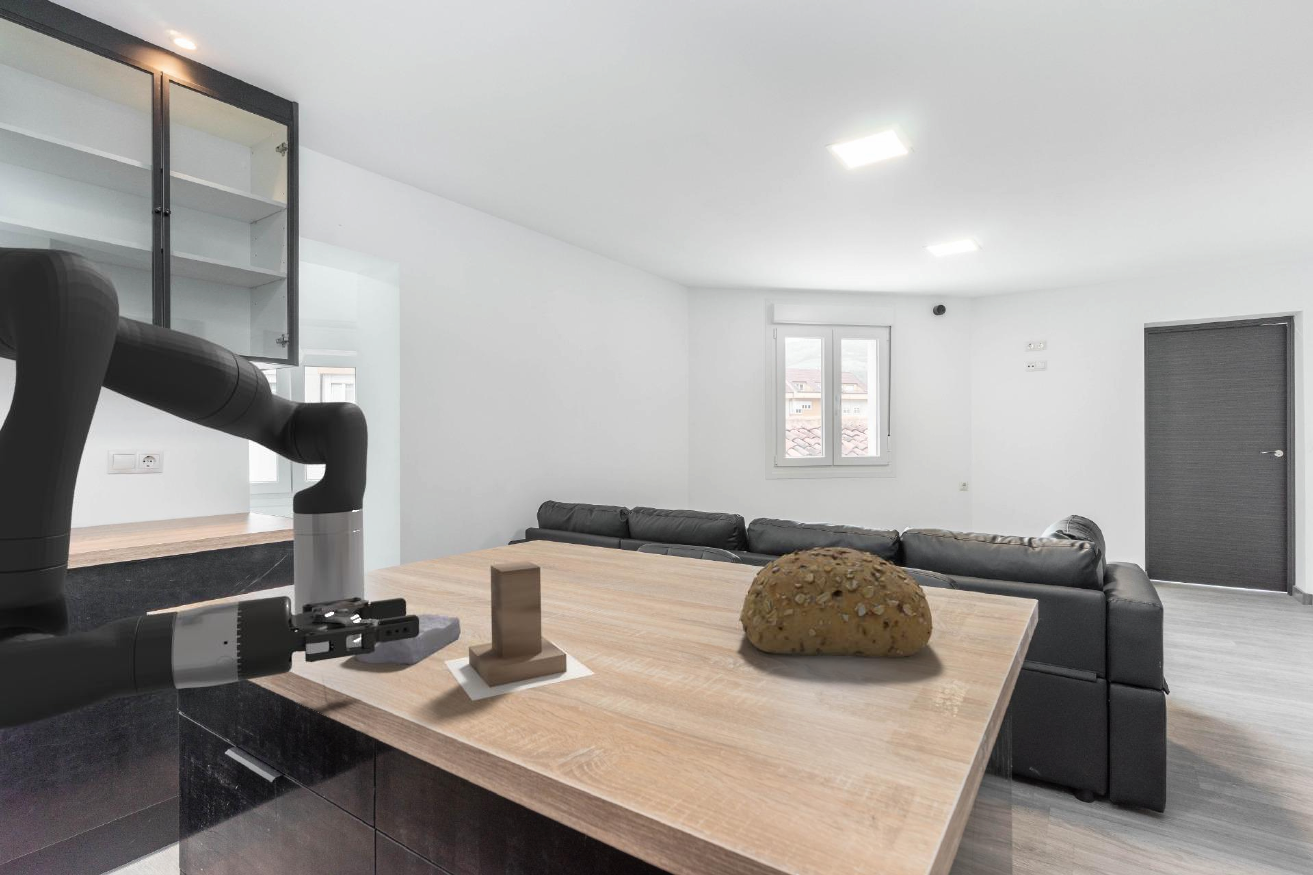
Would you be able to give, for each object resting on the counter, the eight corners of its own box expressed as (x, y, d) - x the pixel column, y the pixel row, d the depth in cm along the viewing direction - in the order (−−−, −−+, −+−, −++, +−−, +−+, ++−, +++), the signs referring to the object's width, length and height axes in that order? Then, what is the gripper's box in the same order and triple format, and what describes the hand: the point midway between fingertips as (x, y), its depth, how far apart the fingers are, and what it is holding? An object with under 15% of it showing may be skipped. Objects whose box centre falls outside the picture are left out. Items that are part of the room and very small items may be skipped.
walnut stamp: (469, 663, 78) (467, 564, 78) (540, 649, 82) (538, 556, 83) (489, 687, 70) (487, 577, 70) (566, 671, 75) (564, 567, 75)
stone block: (348, 678, 79) (420, 666, 77) (341, 640, 80) (413, 627, 78) (404, 651, 91) (468, 640, 89) (398, 617, 91) (461, 605, 89)
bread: (901, 616, 96) (899, 536, 96) (951, 667, 75) (949, 564, 75) (737, 614, 99) (735, 536, 99) (740, 663, 77) (738, 563, 77)
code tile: (443, 662, 79) (443, 661, 79) (551, 642, 86) (551, 641, 86) (472, 701, 67) (472, 700, 67) (595, 674, 74) (595, 673, 74)
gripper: (229, 619, 56) (423, 594, 64) (239, 588, 69) (401, 570, 77) (230, 705, 56) (424, 669, 64) (240, 658, 69) (402, 633, 77)
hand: (411, 615), depth 70 cm, fingers open, 8 cm apart
